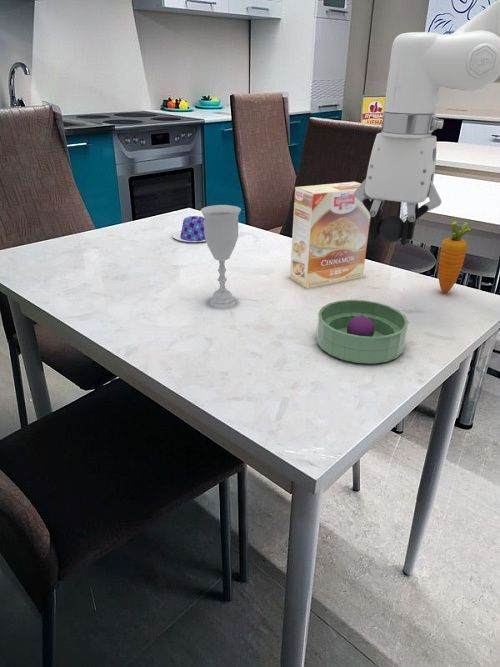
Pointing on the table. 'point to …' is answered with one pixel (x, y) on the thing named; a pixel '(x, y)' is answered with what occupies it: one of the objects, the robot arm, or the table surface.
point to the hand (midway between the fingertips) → (390, 239)
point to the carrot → (452, 257)
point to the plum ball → (360, 326)
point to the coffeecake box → (328, 234)
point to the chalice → (221, 244)
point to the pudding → (191, 230)
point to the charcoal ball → (391, 228)
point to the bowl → (361, 348)
